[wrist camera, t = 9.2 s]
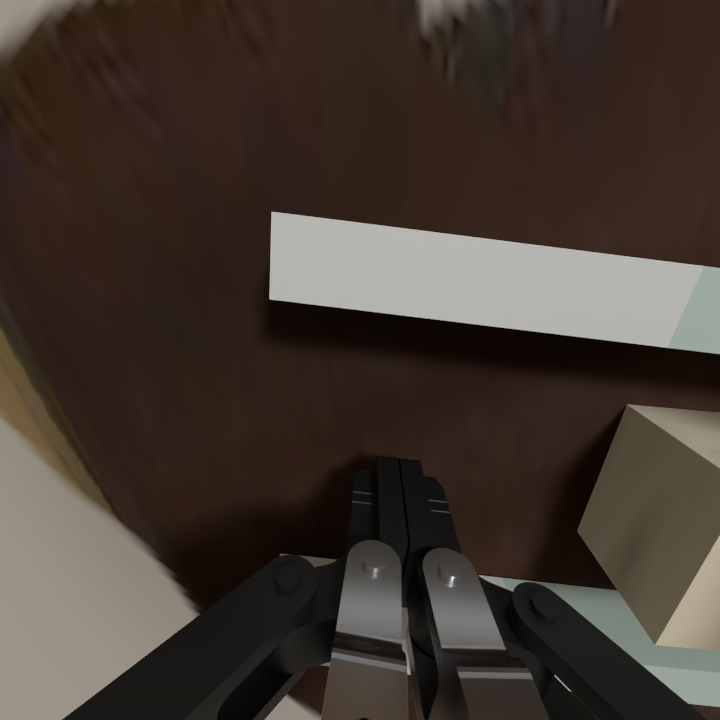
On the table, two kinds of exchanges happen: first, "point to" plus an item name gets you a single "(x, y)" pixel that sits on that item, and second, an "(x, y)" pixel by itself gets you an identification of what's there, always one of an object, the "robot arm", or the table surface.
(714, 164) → the table surface
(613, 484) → the maple block
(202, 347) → the table surface
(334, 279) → the channel
